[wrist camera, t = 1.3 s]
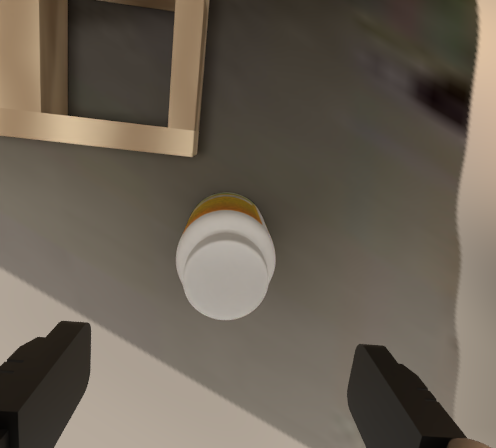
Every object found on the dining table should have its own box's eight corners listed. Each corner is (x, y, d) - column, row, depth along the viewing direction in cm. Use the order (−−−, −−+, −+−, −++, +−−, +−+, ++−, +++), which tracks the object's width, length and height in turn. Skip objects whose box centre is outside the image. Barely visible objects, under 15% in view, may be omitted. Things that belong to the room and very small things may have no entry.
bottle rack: (-120, 118, 23) (-180, 115, 20) (-141, -64, 21) (-213, -103, 17) (197, 154, 25) (192, 157, 21) (210, -11, 22) (207, -37, 19)
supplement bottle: (173, 216, 25) (141, 264, 16) (238, 176, 25) (245, 202, 16) (214, 276, 27) (207, 354, 17) (277, 239, 26) (305, 298, 17)
